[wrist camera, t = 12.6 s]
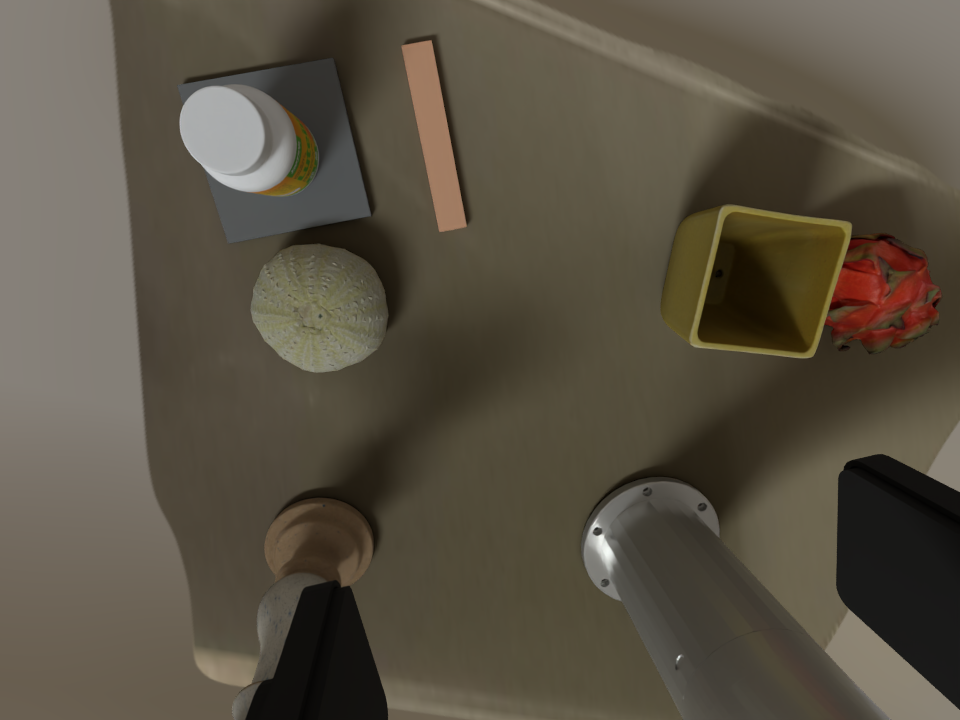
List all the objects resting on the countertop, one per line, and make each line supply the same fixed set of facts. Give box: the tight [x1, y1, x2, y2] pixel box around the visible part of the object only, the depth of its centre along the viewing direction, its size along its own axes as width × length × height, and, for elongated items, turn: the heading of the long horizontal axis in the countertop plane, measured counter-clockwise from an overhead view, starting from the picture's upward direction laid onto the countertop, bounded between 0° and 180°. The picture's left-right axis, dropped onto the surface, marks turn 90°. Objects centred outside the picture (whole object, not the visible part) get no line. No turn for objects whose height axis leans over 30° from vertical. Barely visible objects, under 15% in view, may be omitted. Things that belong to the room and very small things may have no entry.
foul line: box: [401, 40, 467, 232], centre depth 35 cm, size 12×2×1 cm, turn 11°
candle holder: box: [232, 498, 374, 720], centre depth 33 cm, size 9×9×20 cm
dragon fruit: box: [824, 233, 942, 354], centre depth 38 cm, size 8×8×12 cm
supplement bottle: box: [180, 84, 319, 197], centre depth 29 cm, size 5×5×10 cm
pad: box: [177, 58, 372, 243], centre depth 34 cm, size 10×10×1 cm
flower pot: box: [661, 204, 852, 358], centre depth 35 cm, size 9×9×9 cm
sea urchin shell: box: [251, 243, 389, 373], centre depth 35 cm, size 9×8×8 cm
